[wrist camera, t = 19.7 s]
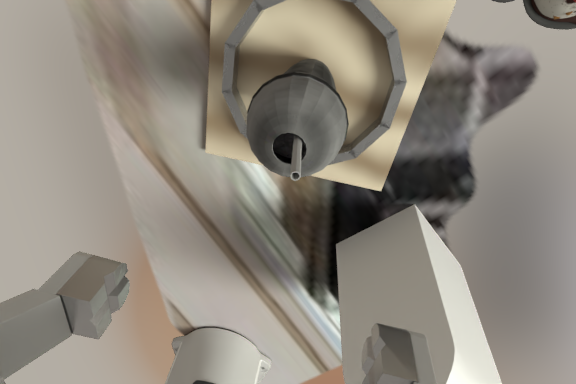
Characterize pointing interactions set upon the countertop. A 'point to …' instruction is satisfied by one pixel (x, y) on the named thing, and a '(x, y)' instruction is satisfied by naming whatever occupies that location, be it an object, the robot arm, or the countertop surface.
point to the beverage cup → (297, 121)
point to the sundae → (551, 12)
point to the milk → (410, 298)
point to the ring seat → (341, 62)
